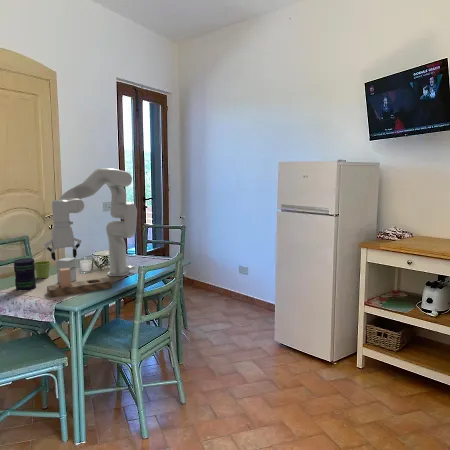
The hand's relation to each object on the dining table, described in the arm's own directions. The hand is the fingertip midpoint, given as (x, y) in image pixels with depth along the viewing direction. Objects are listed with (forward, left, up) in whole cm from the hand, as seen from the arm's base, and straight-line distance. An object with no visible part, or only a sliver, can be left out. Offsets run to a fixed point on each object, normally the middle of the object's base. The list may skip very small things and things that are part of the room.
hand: (64, 258), depth 207 cm
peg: (0, 0, -17) cm, 17 cm away
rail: (-7, 0, -17) cm, 19 cm away
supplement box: (-5, -21, -18) cm, 28 cm away
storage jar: (+16, -19, -18) cm, 31 cm away
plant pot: (+5, -38, -18) cm, 42 cm away
